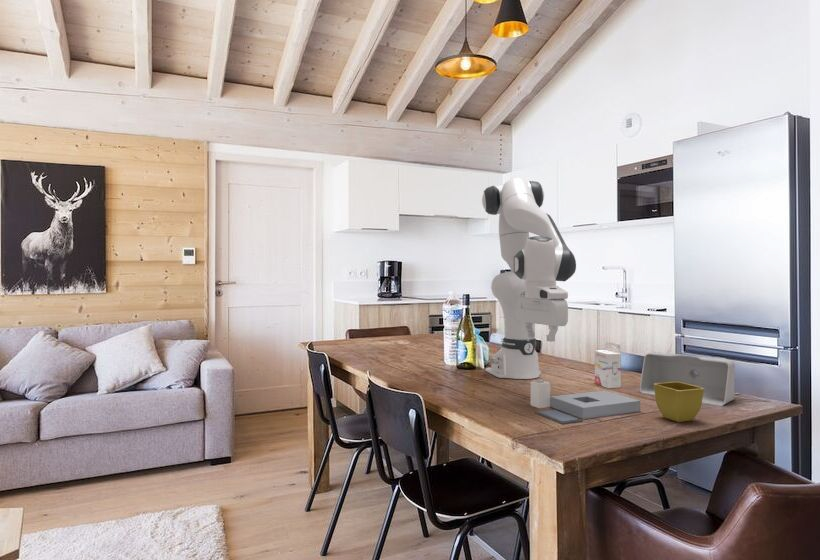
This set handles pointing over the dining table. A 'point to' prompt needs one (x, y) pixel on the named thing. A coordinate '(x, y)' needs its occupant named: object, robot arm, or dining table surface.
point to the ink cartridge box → (608, 366)
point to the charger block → (540, 393)
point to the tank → (690, 375)
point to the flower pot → (678, 400)
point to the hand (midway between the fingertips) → (540, 339)
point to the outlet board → (594, 404)
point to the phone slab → (559, 416)
